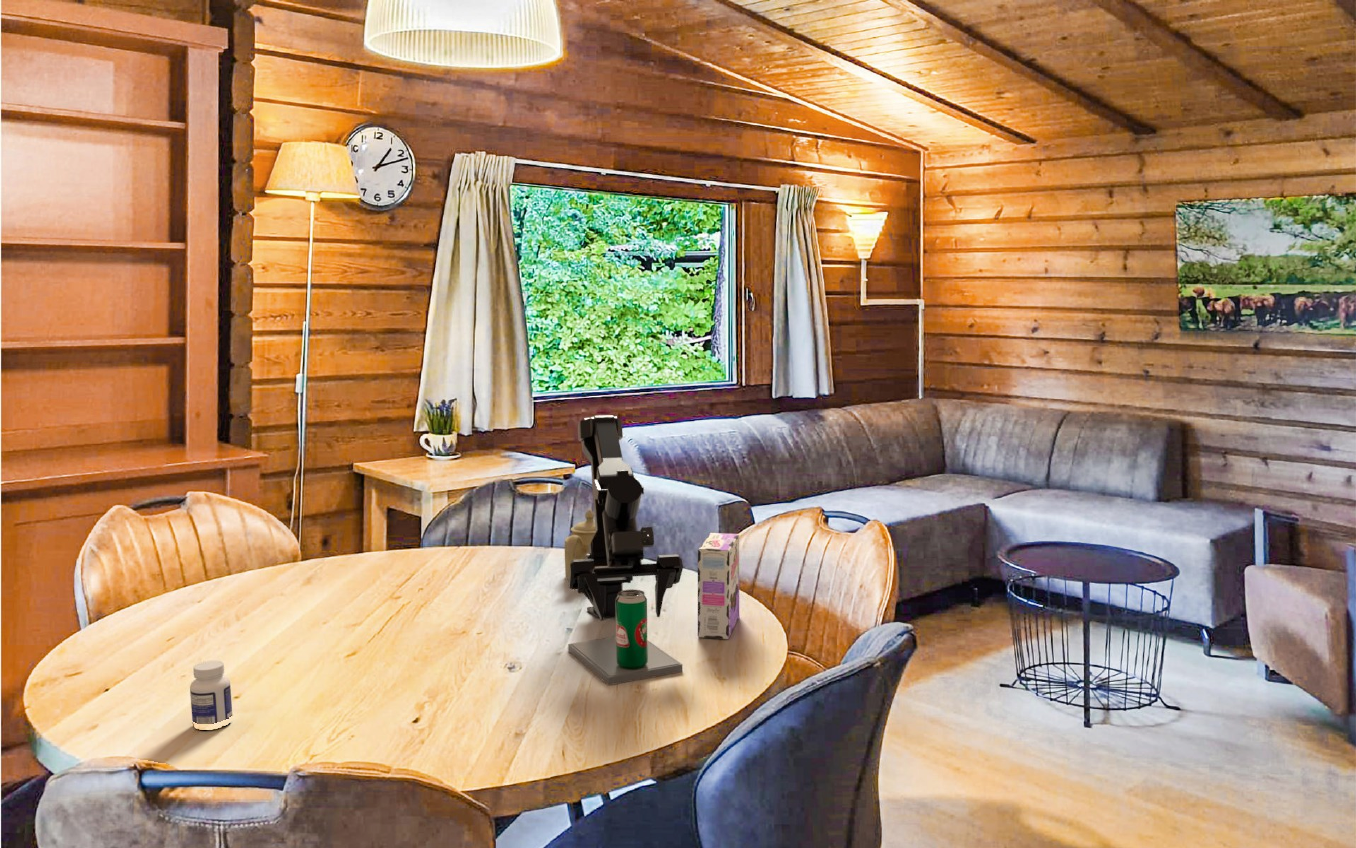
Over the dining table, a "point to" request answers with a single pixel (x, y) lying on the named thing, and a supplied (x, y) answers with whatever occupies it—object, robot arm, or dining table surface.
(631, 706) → the dining table surface
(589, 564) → the robot arm
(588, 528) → the sugar bowl
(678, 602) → the dining table surface
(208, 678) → the pill bottle
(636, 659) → the soda can
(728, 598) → the candy box
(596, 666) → the slate board
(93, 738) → the dining table surface
